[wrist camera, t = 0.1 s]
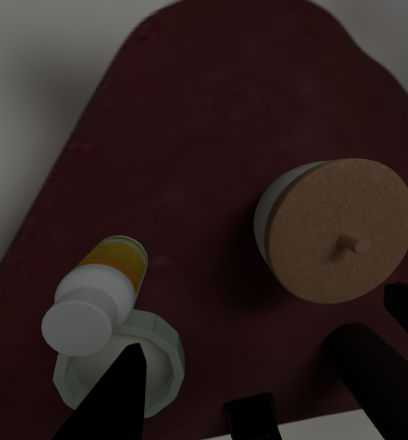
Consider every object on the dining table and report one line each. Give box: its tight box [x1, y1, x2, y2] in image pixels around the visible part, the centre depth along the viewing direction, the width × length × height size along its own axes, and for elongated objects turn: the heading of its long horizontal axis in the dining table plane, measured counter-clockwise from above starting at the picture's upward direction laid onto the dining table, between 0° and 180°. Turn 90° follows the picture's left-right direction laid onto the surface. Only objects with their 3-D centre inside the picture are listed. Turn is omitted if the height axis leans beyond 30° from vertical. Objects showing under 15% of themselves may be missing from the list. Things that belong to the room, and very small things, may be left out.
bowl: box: [53, 309, 184, 418], centre depth 24 cm, size 13×13×2 cm
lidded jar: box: [254, 158, 408, 304], centre depth 18 cm, size 11×11×9 cm
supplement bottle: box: [42, 236, 148, 357], centre depth 17 cm, size 5×5×10 cm
